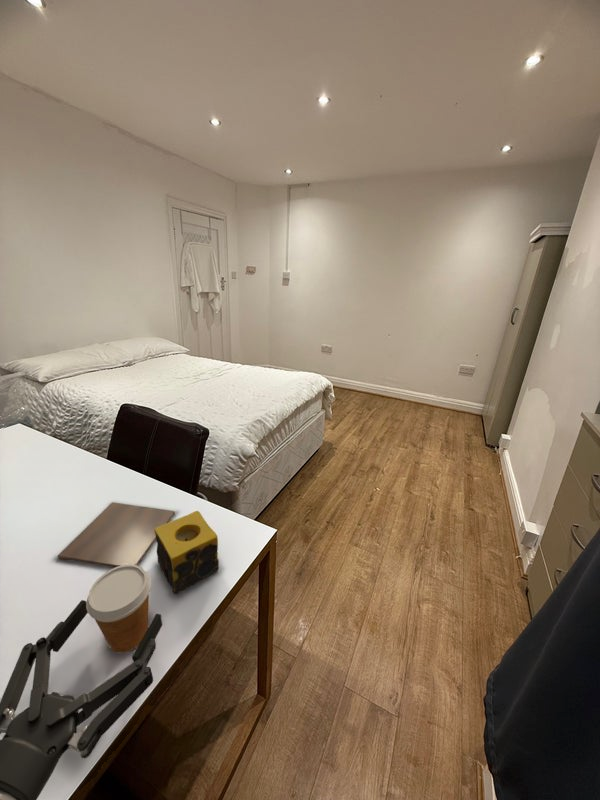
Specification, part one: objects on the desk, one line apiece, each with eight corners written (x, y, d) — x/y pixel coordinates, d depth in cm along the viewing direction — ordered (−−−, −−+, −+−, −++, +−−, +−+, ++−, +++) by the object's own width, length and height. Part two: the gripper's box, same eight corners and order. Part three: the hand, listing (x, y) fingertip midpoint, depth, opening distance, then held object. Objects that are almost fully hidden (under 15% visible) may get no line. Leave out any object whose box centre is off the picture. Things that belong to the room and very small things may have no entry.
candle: (157, 562, 71) (151, 528, 68) (200, 541, 78) (197, 508, 74) (174, 597, 64) (169, 560, 61) (220, 570, 70) (218, 535, 67)
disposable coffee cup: (84, 651, 54) (69, 603, 50) (128, 601, 63) (118, 555, 58) (130, 672, 52) (118, 623, 48) (169, 617, 60) (162, 571, 56)
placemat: (58, 558, 71) (57, 555, 71) (112, 504, 88) (112, 502, 87) (133, 570, 69) (133, 568, 69) (174, 513, 86) (174, 511, 86)
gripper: (-89, 791, 38) (60, 614, 57) (106, 844, 35) (193, 639, 55) (-117, 759, 35) (50, 585, 54) (93, 814, 32) (189, 609, 52)
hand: (122, 612), depth 55 cm, fingers open, 13 cm apart
